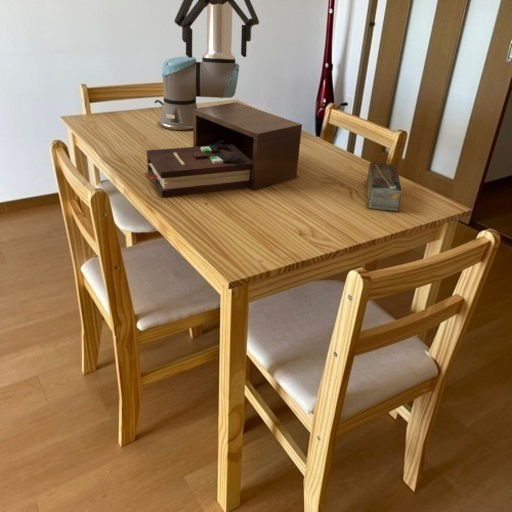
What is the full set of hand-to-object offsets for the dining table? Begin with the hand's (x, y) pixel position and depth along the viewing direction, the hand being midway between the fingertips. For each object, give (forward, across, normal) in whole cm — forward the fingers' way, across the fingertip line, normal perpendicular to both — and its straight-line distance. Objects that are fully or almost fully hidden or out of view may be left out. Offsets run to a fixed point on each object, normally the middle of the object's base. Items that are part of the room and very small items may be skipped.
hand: (216, 56), depth 116 cm
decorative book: (+30, -8, +13) cm, 33 cm away
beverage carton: (+33, +42, +18) cm, 57 cm away
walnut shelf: (+26, +2, +25) cm, 36 cm away
